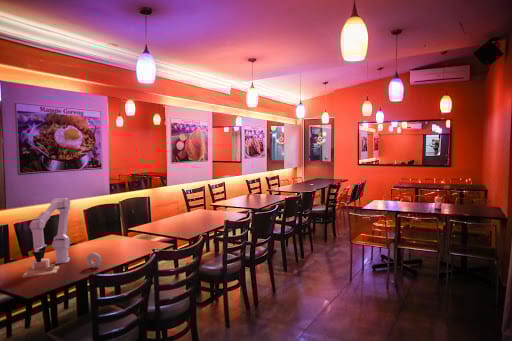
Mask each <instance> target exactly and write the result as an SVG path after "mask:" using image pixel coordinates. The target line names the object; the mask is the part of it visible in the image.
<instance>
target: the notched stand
mask: <svg viewBox="0 0 512 341" xmlns="http://www.w3.org/2000/svg"><path fill="white" fill-rule="evenodd" d="M59 268H60V265H56V264H55V263H51V264H50V263H49V267H43V268H36V269H32V266H29V267H28V269H27V270H26V271H25V272H24V273H23V275H22V276H21V279H25V278H31V277H38V276H46V275H53V274H56V273H57V272H58V271H59Z"/></svg>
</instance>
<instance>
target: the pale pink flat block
mask: <svg viewBox="0 0 512 341" xmlns="http://www.w3.org/2000/svg"><path fill="white" fill-rule="evenodd" d="M49 265H50V258H41V262H37V261H36V259H34V260H31V267H32V269H36V268H43V267H49Z"/></svg>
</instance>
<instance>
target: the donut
mask: <svg viewBox="0 0 512 341" xmlns="http://www.w3.org/2000/svg"><path fill="white" fill-rule="evenodd" d="M101 257H102V256H101V255H100V254H98V253H97V252H90V253H89V254H87V256H86V257H85V258H86V259H85V260H86V261H85V262H86V265H87V266H88V268H91V269H96V268H98V267H99V266H100V265H101V263H102V258H101ZM92 259H94V260H95V262H93V260H92Z"/></svg>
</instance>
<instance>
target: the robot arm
mask: <svg viewBox="0 0 512 341" xmlns="http://www.w3.org/2000/svg"><path fill="white" fill-rule="evenodd" d="M70 208H71V200H70V199H69V198H67V197H62V198H61V197H60V198H57V197H55V198H53V199H52V200H51V201H50V205H49V206H48V207H47V208H46V210H45V211H42V212H41V213H40V214H39V216H37V217H36V219H33V220H32V221H31V222H30V223H29V228H30V231H31V233H32V242H33V249H34V251H32V252H31V254H32V255H33V256H34V258H35V259H34V260H36V261H37V262H41V259H45V252H46V249H47V246H48V245H47V244H45V237H44V236H45V235H44V228H45V227H46V224H47V222H48V220H49V219H51V214H53V213H54V211H58V212H59V216H58V217H59V218H58V225H57V226H58V227H57V234H56V235H55V236H54V237H53V241H52V243H51V247H52V248H53V249H54V251H55V262H54V265H56V264H58V265H59V264H65V263H69V261H70V260H71V257H69V248H70V246H71V241H70V239H71V238H70V237H69V236H68V235H67V231H68V230H67V228H68V222H69V212H70Z"/></svg>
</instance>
